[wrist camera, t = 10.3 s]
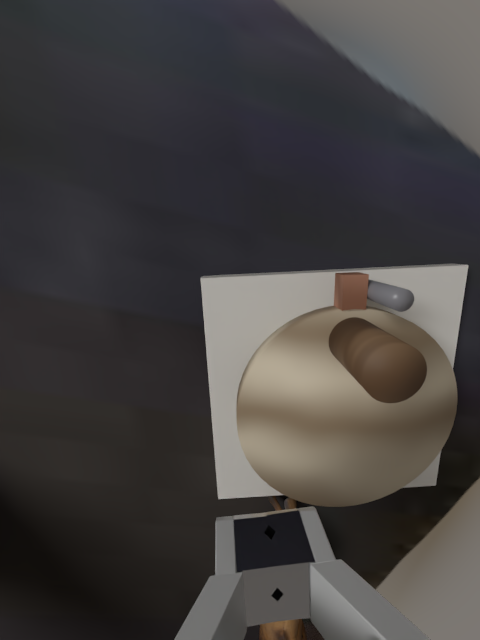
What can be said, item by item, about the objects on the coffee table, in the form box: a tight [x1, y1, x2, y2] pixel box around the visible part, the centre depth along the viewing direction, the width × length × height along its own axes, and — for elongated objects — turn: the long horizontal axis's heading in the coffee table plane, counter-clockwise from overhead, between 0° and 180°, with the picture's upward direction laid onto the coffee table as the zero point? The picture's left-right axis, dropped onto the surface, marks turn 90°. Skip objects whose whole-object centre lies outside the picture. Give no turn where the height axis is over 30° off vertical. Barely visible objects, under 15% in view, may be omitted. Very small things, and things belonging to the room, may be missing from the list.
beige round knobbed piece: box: [236, 272, 457, 507], centre depth 18 cm, size 17×15×6 cm
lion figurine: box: [259, 496, 307, 640], centre depth 24 cm, size 15×5×9 cm, turn 10°
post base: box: [201, 264, 468, 499], centre depth 21 cm, size 19×19×8 cm
